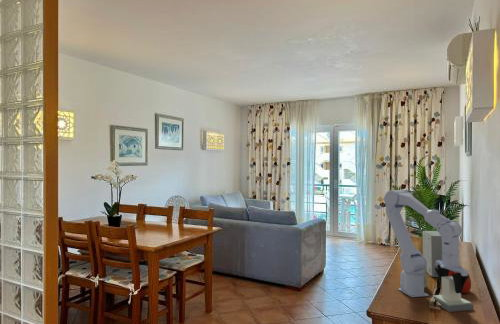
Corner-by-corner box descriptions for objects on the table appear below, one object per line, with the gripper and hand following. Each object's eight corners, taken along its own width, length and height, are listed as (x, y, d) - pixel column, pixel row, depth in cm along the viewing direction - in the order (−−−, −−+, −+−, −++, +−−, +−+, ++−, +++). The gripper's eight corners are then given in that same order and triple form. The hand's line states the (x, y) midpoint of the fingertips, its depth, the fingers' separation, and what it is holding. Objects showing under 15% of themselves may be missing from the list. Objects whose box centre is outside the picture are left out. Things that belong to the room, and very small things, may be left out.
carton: (441, 297, 135) (441, 276, 135) (453, 296, 136) (452, 275, 136) (449, 301, 131) (448, 279, 131) (461, 300, 132) (460, 279, 132)
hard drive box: (449, 278, 166) (448, 236, 167) (431, 277, 168) (430, 235, 168) (438, 268, 181) (437, 230, 182) (422, 268, 183) (421, 230, 183)
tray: (431, 301, 138) (431, 295, 138) (453, 299, 139) (453, 293, 139) (449, 311, 128) (449, 304, 128) (473, 309, 129) (473, 302, 129)
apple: (436, 288, 152) (436, 264, 153) (453, 284, 157) (453, 261, 157) (460, 296, 143) (459, 270, 143) (477, 292, 147) (476, 267, 147)
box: (422, 284, 158) (422, 259, 158) (427, 287, 154) (427, 262, 154) (411, 284, 158) (410, 260, 158) (416, 287, 153) (415, 262, 154)
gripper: (428, 249, 140) (429, 283, 140) (455, 259, 126) (456, 296, 126) (444, 249, 142) (444, 282, 141) (472, 258, 127) (473, 295, 127)
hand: (451, 289), depth 134 cm, fingers open, 7 cm apart
